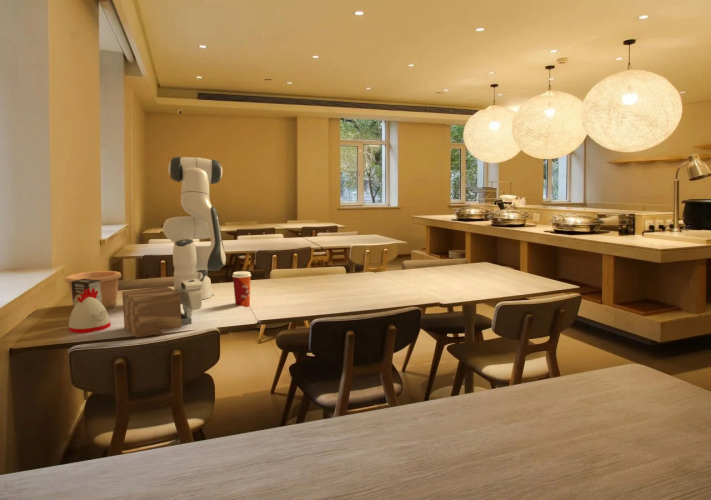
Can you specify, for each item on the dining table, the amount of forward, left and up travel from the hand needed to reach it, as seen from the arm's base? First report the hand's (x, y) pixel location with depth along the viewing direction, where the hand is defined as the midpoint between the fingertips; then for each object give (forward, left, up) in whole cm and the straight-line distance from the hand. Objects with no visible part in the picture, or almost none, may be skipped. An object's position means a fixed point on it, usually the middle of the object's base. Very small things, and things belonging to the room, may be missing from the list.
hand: (188, 316), depth 193 cm
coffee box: (-30, -29, -3) cm, 42 cm away
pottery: (-52, -22, -3) cm, 57 cm away
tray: (0, -8, -2) cm, 9 cm away
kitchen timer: (-17, -31, -3) cm, 36 cm away
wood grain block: (0, -13, -2) cm, 14 cm away
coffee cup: (-11, +29, -3) cm, 31 cm away
